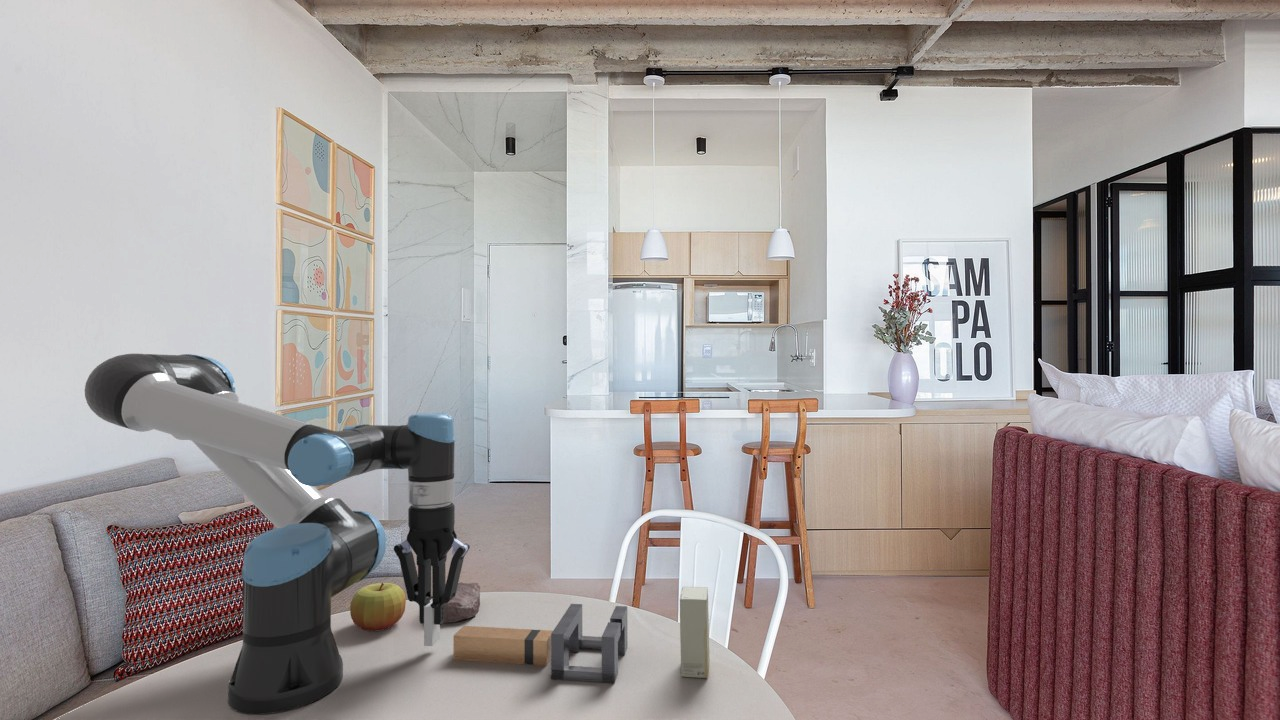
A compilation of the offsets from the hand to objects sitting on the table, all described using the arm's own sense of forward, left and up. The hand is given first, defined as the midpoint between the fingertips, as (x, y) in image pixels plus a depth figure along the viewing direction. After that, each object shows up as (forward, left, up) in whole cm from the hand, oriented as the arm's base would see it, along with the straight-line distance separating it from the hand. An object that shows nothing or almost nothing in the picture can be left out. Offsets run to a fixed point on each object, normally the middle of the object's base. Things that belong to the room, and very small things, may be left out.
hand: (431, 642), depth 105 cm
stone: (-4, +18, -2) cm, 18 cm away
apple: (-15, +9, -2) cm, 18 cm away
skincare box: (+45, 0, -2) cm, 45 cm away
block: (+13, 0, -2) cm, 13 cm away
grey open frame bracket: (+28, 0, -2) cm, 28 cm away
